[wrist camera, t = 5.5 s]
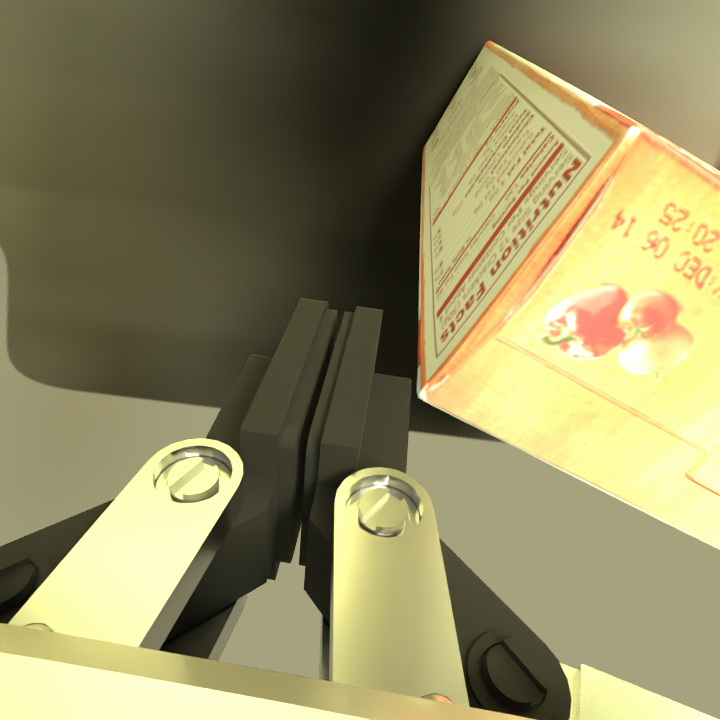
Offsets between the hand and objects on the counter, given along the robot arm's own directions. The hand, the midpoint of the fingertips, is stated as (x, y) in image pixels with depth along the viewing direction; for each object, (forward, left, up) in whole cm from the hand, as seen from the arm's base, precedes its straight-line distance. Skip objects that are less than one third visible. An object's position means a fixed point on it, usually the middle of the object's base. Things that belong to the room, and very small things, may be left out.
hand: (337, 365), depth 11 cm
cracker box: (0, +9, -20) cm, 22 cm away
